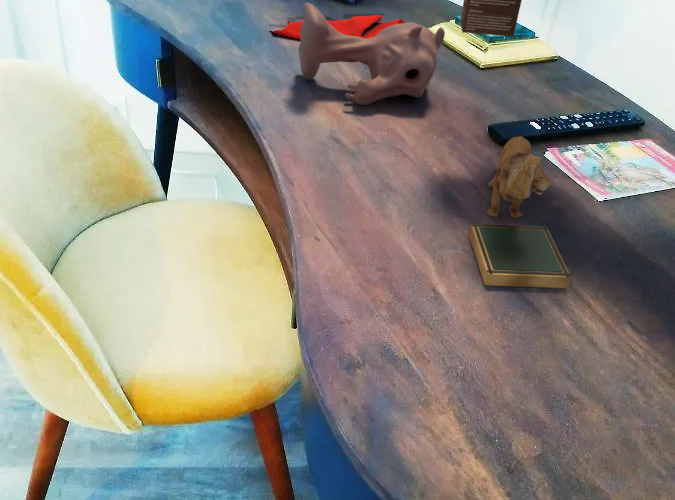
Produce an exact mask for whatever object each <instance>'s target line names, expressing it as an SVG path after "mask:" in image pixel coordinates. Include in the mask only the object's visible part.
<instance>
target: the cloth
mask: <svg viewBox="0 0 675 500" xmlns="http://www.w3.org/2000/svg"><path fill="white" fill-rule="evenodd" d="M382 19H384V16H383V15H381V14H374V15H361V16H360V15H358V16H352V17H351V18H349V19H338V20H337V19H336V20H326V21H327V22H328V23H329V24H330V25H331V26H333V27H334V28H335V29H336V30H337V31H338V32H340V33H342V34H345V35H348V36H357V37H361V38H365V39H367V38H373V37H375V36H376V35H377V34H378V33H379V32H380V31H382V30H383V29H385V28H387V27H389V26H392V25H395V24H402V23H407V22H406V21H405V20H403V19H401V18H398V19H395V20H392V21H382ZM302 23H303V21H300V22H294V23H293V22H289V23H288V24H287V25H286V26H284V28H285V29H282V30H276V31H273V33H272V34H275V35H276V34H278V35H277V36H280V35H283V36H282V37H286V36H287V37H286V38H291V37H292V38H291V39H297V40H300V38H301V37H300V30H301V26H302Z"/></svg>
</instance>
